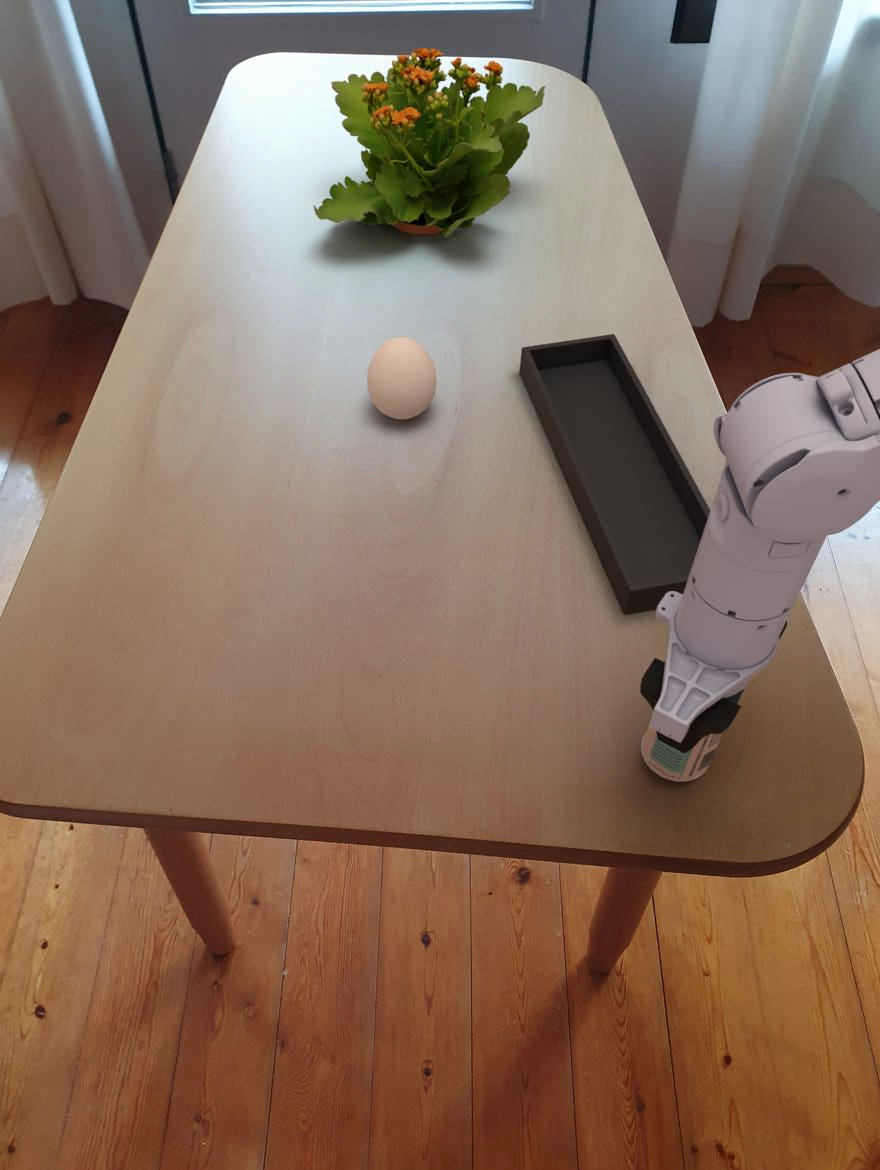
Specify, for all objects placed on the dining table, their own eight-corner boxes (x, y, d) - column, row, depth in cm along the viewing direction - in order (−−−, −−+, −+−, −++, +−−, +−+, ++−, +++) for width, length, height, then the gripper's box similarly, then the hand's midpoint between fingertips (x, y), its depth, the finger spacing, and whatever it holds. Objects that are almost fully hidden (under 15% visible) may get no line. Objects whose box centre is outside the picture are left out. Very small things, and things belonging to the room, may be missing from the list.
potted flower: (343, 152, 121) (332, -7, 107) (536, 158, 119) (550, -3, 105) (313, 269, 106) (296, 103, 92) (532, 277, 104) (549, 109, 90)
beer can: (706, 728, 70) (750, 626, 60) (712, 787, 67) (759, 691, 57) (638, 723, 70) (671, 621, 60) (641, 782, 67) (676, 685, 58)
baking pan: (733, 595, 78) (743, 571, 76) (623, 615, 77) (630, 590, 75) (609, 359, 96) (614, 333, 93) (519, 372, 95) (521, 347, 93)
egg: (392, 382, 95) (389, 311, 88) (449, 404, 92) (450, 333, 86) (355, 420, 91) (350, 349, 85) (413, 443, 89) (412, 373, 83)
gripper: (729, 473, 58) (682, 614, 69) (616, 636, 51) (584, 764, 62) (846, 521, 56) (778, 659, 66) (744, 699, 49) (687, 820, 60)
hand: (691, 713), depth 64 cm, fingers closed on beer can, 5 cm apart
